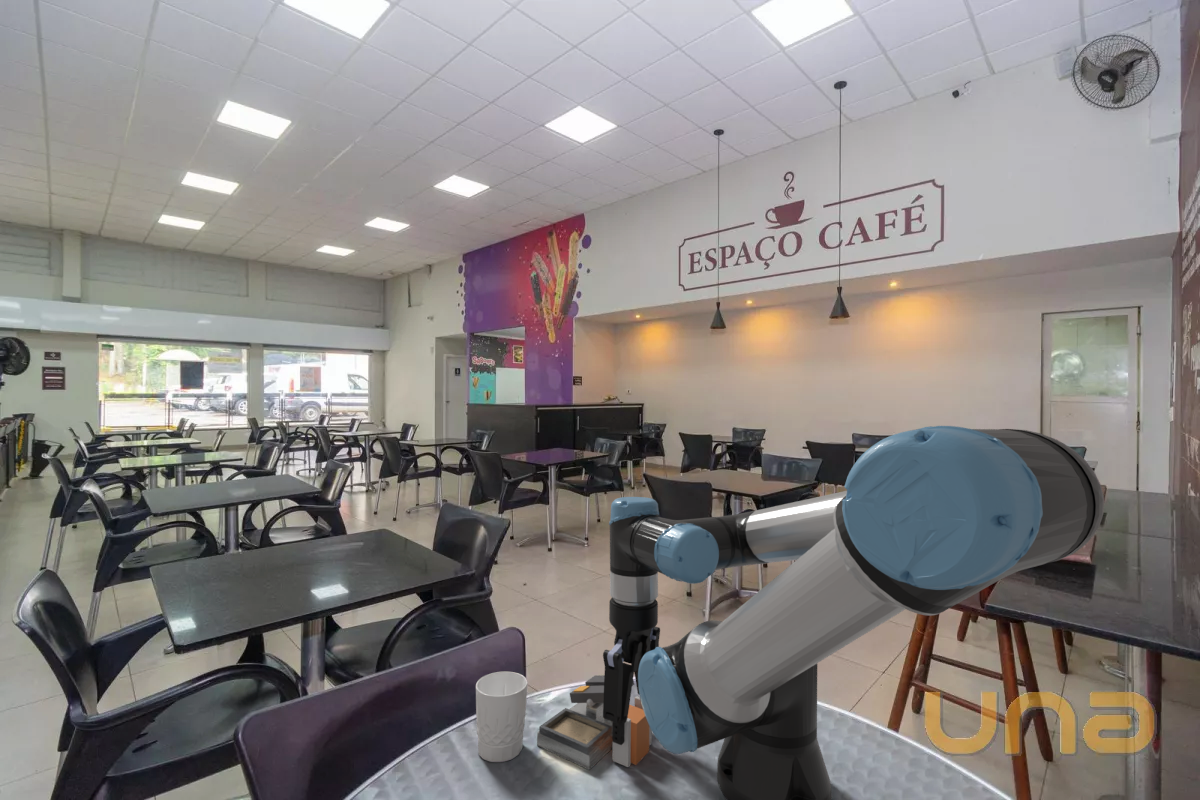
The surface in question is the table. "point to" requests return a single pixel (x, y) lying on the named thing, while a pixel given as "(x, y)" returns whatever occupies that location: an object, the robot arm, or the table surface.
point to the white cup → (500, 715)
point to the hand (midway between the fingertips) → (632, 751)
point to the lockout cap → (638, 734)
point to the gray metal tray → (578, 734)
